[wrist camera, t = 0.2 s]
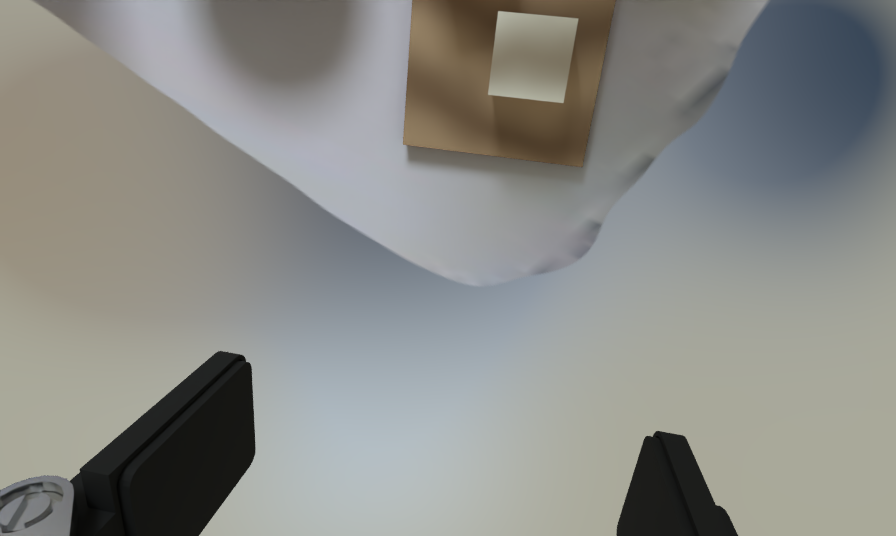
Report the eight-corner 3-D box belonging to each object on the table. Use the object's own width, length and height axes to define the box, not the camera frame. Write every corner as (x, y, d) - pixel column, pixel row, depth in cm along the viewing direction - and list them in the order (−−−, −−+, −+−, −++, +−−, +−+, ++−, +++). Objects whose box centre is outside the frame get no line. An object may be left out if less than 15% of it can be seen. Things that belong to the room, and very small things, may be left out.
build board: (427, -164, 33) (409, -207, 28) (643, -152, 31) (664, -195, 26) (406, 142, 40) (389, 150, 35) (580, 164, 38) (588, 176, 34)
